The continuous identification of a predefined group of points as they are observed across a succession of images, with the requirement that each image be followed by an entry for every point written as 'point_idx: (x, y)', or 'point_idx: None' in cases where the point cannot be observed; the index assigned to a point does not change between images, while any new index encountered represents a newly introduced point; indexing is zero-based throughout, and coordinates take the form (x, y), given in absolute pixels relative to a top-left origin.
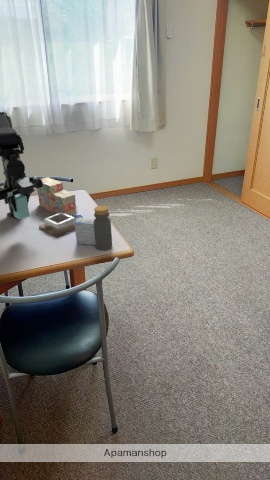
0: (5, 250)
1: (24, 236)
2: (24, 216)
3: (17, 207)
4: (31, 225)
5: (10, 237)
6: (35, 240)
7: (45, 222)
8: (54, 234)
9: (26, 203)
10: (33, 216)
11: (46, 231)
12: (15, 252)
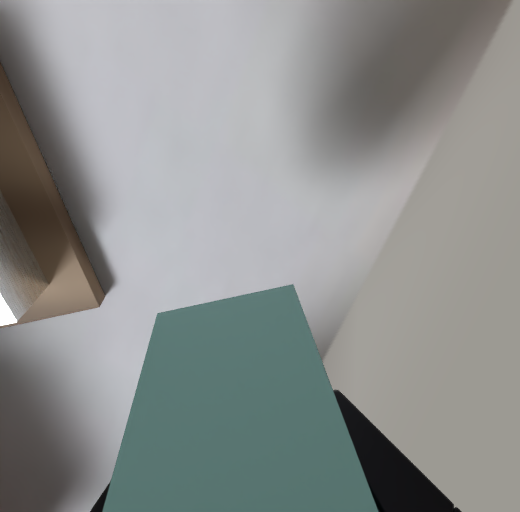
0: (449, 105)
1: (245, 236)
2: (230, 310)
3: (345, 437)
4: (143, 360)
5: (327, 277)
6: (198, 114)
7: (27, 291)
8: (5, 88)
9: (131, 498)
10: (93, 458)
11: (65, 209)
12: (418, 8)
